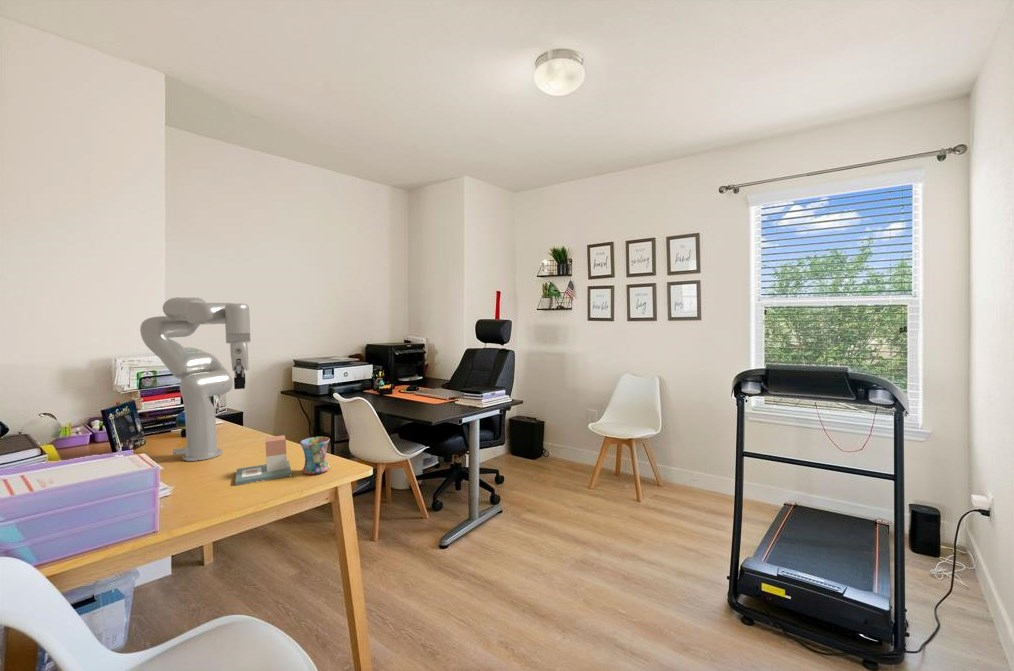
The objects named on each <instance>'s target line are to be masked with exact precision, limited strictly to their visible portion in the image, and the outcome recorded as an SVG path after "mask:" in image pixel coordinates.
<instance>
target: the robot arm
mask: <svg viewBox="0 0 1014 671" xmlns="http://www.w3.org/2000/svg"><path fill="white" fill-rule="evenodd" d="M162 311H163V314H164V315H165V316H163V315H160V316H153V317H148V318H146V319H144V320H143V321H142V323H141V324H140V330H139V331H140V336H141V339H142V341H143V343H144V344H145V346H146V347H147V348H148V349H149V350H150V351H151V352H152V353H153V354H155V355H156V356H157V357H158V358H159V359H160V361H161V362H162V363H163V364H164V366H165V367H166V368H167V370H168V371H169V372H170V373H171V374H172V376H173V377H175V379H180V382H179V391H180V394H181V397H182V401H183V408H184V420H185V438H186V446H183V447H182V448H173V449H172V455H176V456H178V455H182V460H183V461H185V460H186V461H185V462H197V461H198V460H199V461H204V460H210V459H213V458H216V457H219V456H220V455H222V454H223V450H222V449H221V448H218V442H217V441H218V440H217V439H218V438H217V423H216V409H215V405H214V404H213V403H212V402H211V401H210V400H209V398H210V397H215V396H220V395H224V394H227V393H229V392H230V391H231V390H232V389H233V388H234V390H242V389H243V390H245V388H246V373H245V371H246V372H247V371H249V348H248V347H249V346H248V344H249V343H251V323H250V322H251V321H250V317H251V316H250V306H249V305H248V304H246V303H232V302H207V301H205V300H204V299H202V298H199V297H172V298H169V299H166V301H165V302H164V303H163V305H162ZM201 325H225V326H224V327H225V343H226V344H229V346H230V347H229V348H230V362H231V370H232V372H234V377H233V379H232V375H231V374H230V372H229V371H228V370H227V369H226V368H225V366H223V364H222V363H221V362H220V361H219V360H218V358H217V357H216V356H215V355H213V354H212V353H209V352H193V353H192V352H188V351H187V350H186V349H185V347H184V346H183V345H182V344H181V343H179V342H177V341H176V340H173V339H171V338H185V337H189V336H191V335H192V334H194V333H195V332H196V330H197V329H198V328H199V327H200V326H201ZM233 386H234V387H233ZM199 461H198V462H199Z"/></svg>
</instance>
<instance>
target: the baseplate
mask: <svg viewBox="0 0 1014 671" xmlns="http://www.w3.org/2000/svg"><path fill="white" fill-rule="evenodd" d="M265 458H266V461H265V462H266V464H260V465H259V464H258V465H252V466H246V467H241V468H236V473H235V486H240V484H242V485H246V484H245V483H248V484H251V483H250V482H254V483H257V482H256V481H259V482H263V481H262V480H265V481H269V480H268V479H271V480H275V479H274V478H277V479H281V478H280V477H283V478H286V477H285V476H289V477H291V476H290V475H292V474H293V472H292V469H291V464H290V461H289V460H288V458H287V453H286V454H282V455H276V456H269V457H266V456H265Z"/></svg>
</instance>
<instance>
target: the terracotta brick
mask: <svg viewBox="0 0 1014 671" xmlns="http://www.w3.org/2000/svg"><path fill="white" fill-rule="evenodd" d="M264 440H265V455H266V456H265V458H266V457H269V456H276V455H282V454H286V455H287V442H286V436H285V435H284V434H283V435H277V436H276V435H275V436H268V437H264Z"/></svg>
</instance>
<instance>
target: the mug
mask: <svg viewBox="0 0 1014 671" xmlns="http://www.w3.org/2000/svg"><path fill="white" fill-rule="evenodd" d="M330 441H331V439H330V437H327V436H314V437H308V438H305V439H302V440H300V442H299V444H300V446H301V448H302V450H303V454H304V466H303V469H302V472H303V473H304V474H307V475H317V474H322V473H325V472H326V471H329V470H330V468H331V467H330V466H331V465H329V464H330V463H329V462H328V459H327V453H328V452H327V451H328V446H329V443H330Z"/></svg>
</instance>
